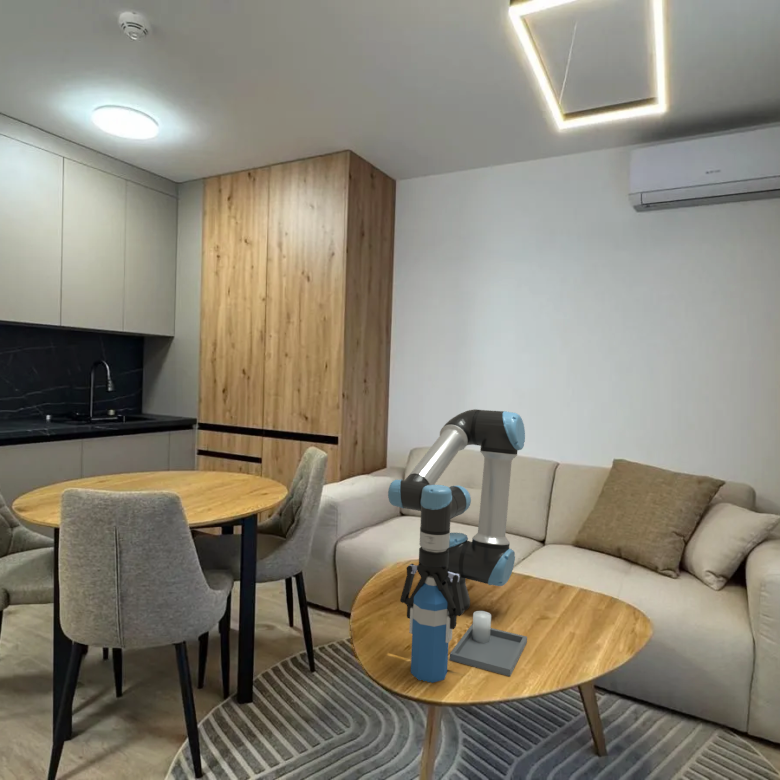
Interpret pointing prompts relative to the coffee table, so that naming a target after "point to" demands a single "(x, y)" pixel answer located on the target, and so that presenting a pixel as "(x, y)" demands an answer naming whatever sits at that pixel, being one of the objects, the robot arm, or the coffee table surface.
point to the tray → (490, 651)
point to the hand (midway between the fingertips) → (430, 635)
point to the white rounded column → (481, 626)
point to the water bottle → (429, 633)
